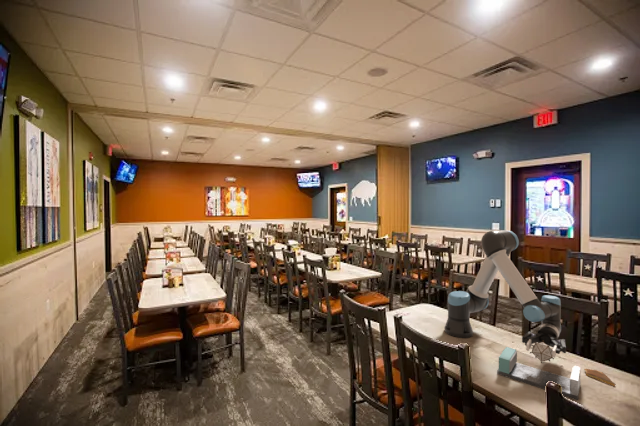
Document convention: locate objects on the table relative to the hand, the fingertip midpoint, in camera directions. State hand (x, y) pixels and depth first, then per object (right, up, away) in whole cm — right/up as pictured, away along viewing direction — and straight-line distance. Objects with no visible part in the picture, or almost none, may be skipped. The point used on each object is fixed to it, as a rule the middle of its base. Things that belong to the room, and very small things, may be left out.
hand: (540, 350), depth 129 cm
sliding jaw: (-6, -13, +12) cm, 19 cm away
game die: (+3, -6, +3) cm, 8 cm away
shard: (+31, -15, +6) cm, 35 cm away
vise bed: (+2, -14, +5) cm, 15 cm away
